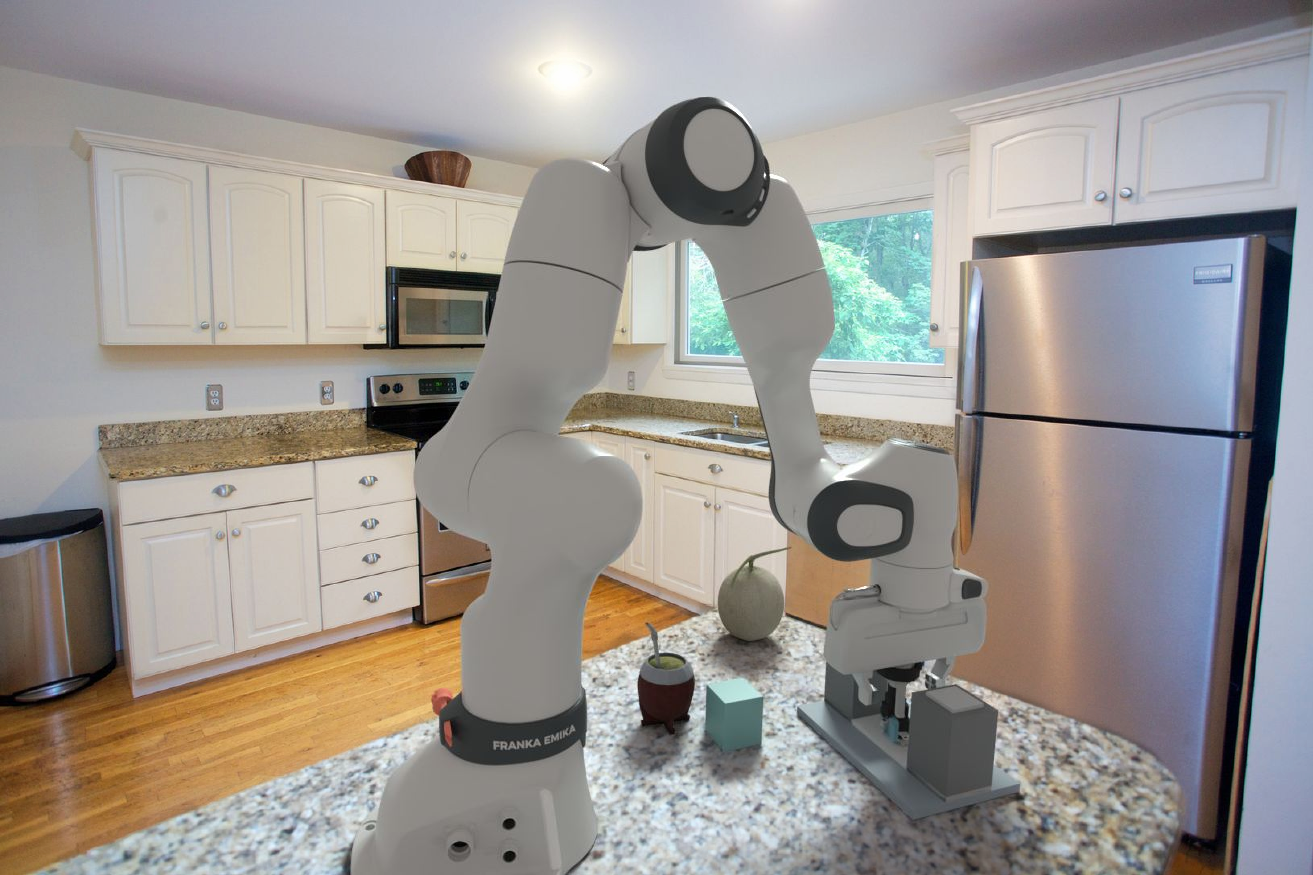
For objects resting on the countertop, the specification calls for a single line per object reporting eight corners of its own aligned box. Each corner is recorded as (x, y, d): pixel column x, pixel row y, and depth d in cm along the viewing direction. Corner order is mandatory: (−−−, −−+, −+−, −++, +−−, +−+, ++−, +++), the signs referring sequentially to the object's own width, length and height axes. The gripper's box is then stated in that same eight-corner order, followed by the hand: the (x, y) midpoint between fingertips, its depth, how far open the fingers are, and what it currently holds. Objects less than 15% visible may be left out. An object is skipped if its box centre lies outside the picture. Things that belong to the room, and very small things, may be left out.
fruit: (700, 639, 116) (702, 548, 113) (740, 619, 124) (743, 533, 122) (756, 659, 109) (760, 562, 107) (795, 636, 118) (799, 546, 115)
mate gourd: (683, 704, 95) (686, 594, 93) (703, 736, 88) (707, 617, 85) (627, 711, 93) (629, 598, 91) (643, 745, 86) (645, 622, 83)
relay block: (763, 696, 86) (761, 743, 86) (743, 677, 90) (741, 722, 91) (725, 703, 84) (723, 752, 85) (706, 683, 88) (705, 730, 89)
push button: (929, 752, 82) (935, 668, 81) (882, 752, 82) (887, 668, 81) (907, 721, 89) (912, 643, 87) (863, 721, 89) (868, 642, 87)
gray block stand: (912, 819, 73) (920, 722, 72) (796, 712, 93) (800, 635, 92) (1019, 791, 78) (1028, 700, 77) (887, 695, 98) (892, 622, 97)
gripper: (849, 601, 76) (842, 724, 78) (1000, 581, 83) (990, 694, 85) (815, 581, 82) (809, 697, 84) (959, 564, 89) (951, 671, 91)
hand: (901, 695), depth 85 cm, fingers open, 8 cm apart
